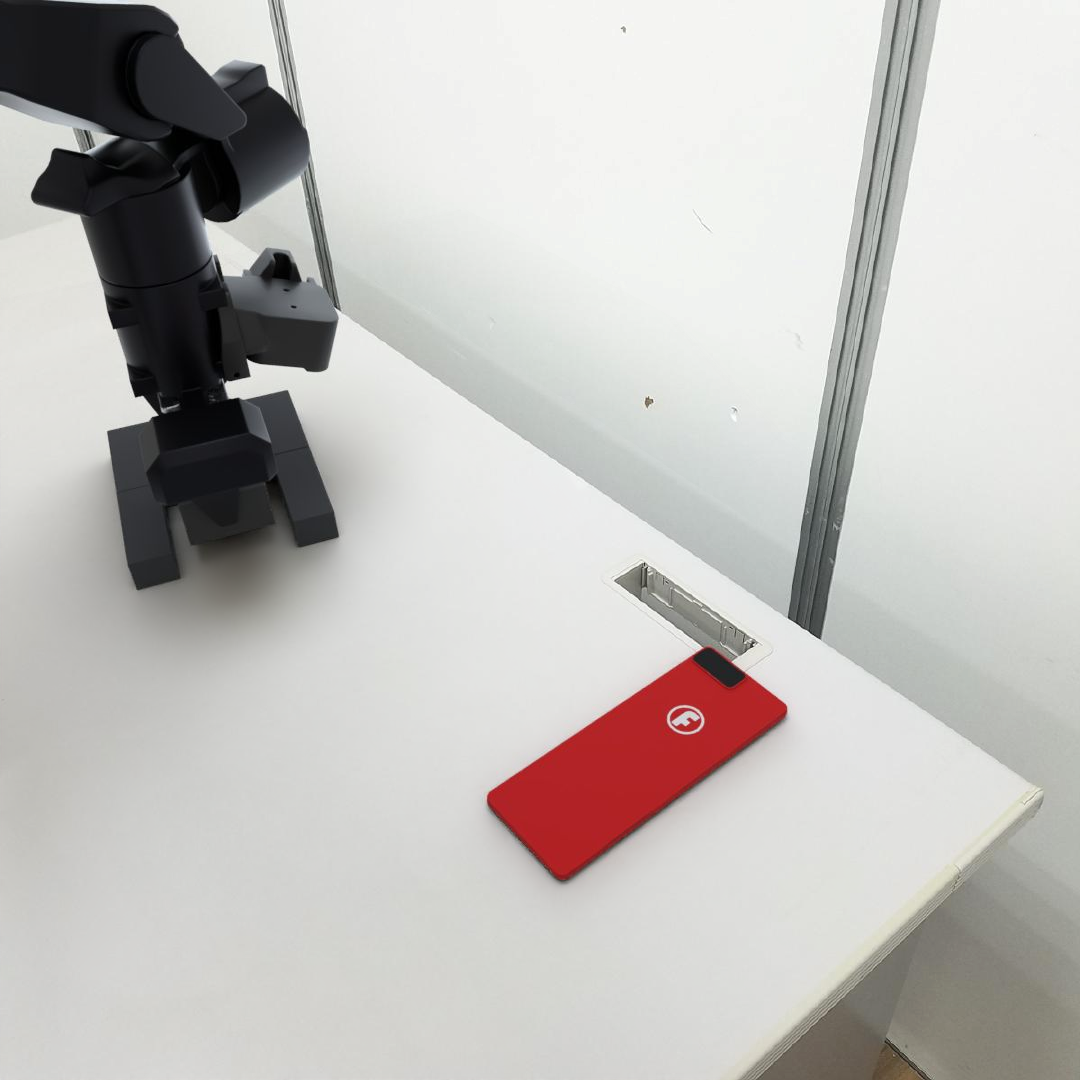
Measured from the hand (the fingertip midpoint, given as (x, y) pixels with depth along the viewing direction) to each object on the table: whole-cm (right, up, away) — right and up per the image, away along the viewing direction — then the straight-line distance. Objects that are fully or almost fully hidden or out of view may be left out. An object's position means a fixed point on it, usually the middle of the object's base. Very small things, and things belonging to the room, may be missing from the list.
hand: (221, 497), depth 68 cm
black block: (0, -1, +1) cm, 1 cm away
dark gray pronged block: (-1, 0, +4) cm, 4 cm away
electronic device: (+24, -13, -13) cm, 30 cm away
